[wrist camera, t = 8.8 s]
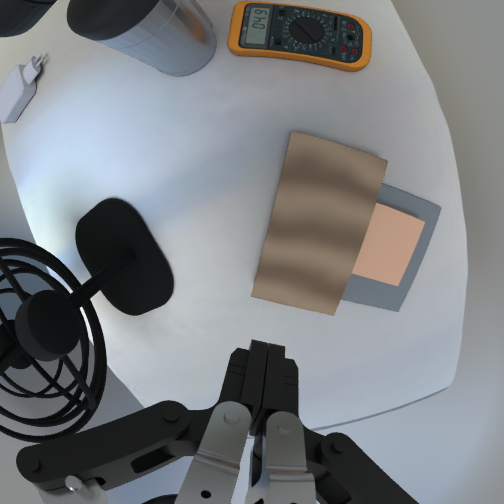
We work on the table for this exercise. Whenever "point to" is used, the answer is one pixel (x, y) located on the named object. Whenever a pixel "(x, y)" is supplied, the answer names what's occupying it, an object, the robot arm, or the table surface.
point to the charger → (18, 90)
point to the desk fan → (78, 307)
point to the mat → (392, 295)
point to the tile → (388, 244)
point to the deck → (317, 223)
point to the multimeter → (300, 34)
